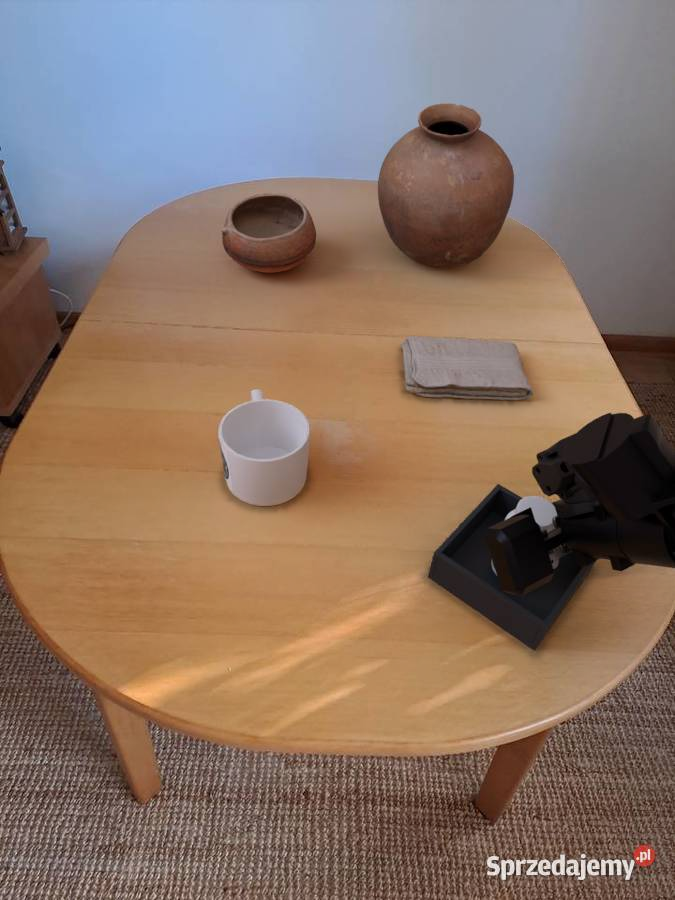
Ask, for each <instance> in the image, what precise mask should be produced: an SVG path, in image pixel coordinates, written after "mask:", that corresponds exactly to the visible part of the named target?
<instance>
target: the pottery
mask: <svg viewBox="0 0 675 900" xmlns="http://www.w3.org/2000/svg"><path fill="white" fill-rule="evenodd" d="M417 122H418V125H419V126H416V127H414V128H413V129H410V130H409V131H408V132H407V133H405V134H404V135H403V136H401V138H399V139H398V140H396V142H395V143H394V144H393V145H392V147H391V148H390V149H389V150H388V152H387V153H386V156H385V157H384V159H383V161H382V164H381V167H380V170H379V173H378V179H377V198H378V207H379V209H380V210H379V211H380V214H381V217H382V220H383V221H382V222H383V224H384V227H385V229H386V231H387V234H388V236H389V238H390V240H391V241H392V243H393V244H394V245H395V246H396V247H397V248H398V250H400V252H402V253H403V254H404V255H406V256H408V257H409V258H410V259H412V260H413V261H416V262H419V263H421V264H424V265H427V266H434V267H457V266H462V265H466V264H469V263H471V262H474V261H476V260H478V259H479V258H480V257H481V256H482V255H483V254H484V253H485V252H486V251H487V250H489V248H491V246H492V245H493V244H494V242H495V241H496V240H497V237H498V236H499V234H500V233H501V230H502V228H503V226H504V225H505V224H504V223H505V221H506V218H507V217H508V213H509V210H510V208H511V204H512V200H513V196H514V187H515V185H514V184H515V174H514V173H515V172H514V167H513V165H512V162H511V159H510V158H509V157H508V154H507V153H506V152H505V151H504V149H503V148H502V147H501V146H500V145H499V143H498V142H497V141H496V140H495V139H494V138H493V137H491V136H490V135H489V134H488V133H486V132H484V130H483V131H482V130H481V129H480V128H481V126H482V118H481V115H480V113H478V112H477V110H475V109H474V108H471V107H469V106H467V105H463V104H456V103H437V104H432V105H429V106H427V107H425V108H424V109H422V110H421V111H420V112H419V114H418V117H417Z"/></svg>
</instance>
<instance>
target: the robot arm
mask: <svg viewBox="0 0 675 900" xmlns="http://www.w3.org/2000/svg"><path fill="white" fill-rule="evenodd" d="M535 457H536V460H537V463H536V464H534V465H533V466H532V468H531V474H532V476H533V477H534V479H535V481H536V483H537V485H538V486H539V488H540V490H541V493H543V494H544V496H545V495H546V496H547V497H552V496H554V495H556V496H558V498H559V499H558V500H556V501H552V502H551V503H552V504H553V505H554V506H555V509H556V513H557V516H555V517H553V518H552V522H553V525H554V527H555V528H556V529H554V530H552V531H550V532H548V533H547V530H546V529H540V526H539V525H538V523H537V522H536V521H535V518H534V515H533V512H532V509H531V507H530V508H528V509H526V510H524V511H522V512H520V513H517V514H515V515H513V516H511V517H510V518H508V519H506V520H504V521H502V522H500V523H498V524H496V525H493V526H491V527H489V528H487V531H486V534H485V536H484V537H485V540H486V543H487V546H488V549H489V552H490V555H491V558H492V561H493V564H494V567H495V570H496V573H497V577H498V580H499V583H500V586H501V589H502V590H503V591H505V592H507V593H509V594H514V595H518V596H523V595H525V594H527V593H529V592H531V591H533V590H535V589H536V588H538V587H540V586H542V585H544V584H546V583H548V582H549V581H551V579H552V577H553V575H554V573H555V572H554V569H555V568H556V567H557V566H558V563H559V558H560V557H562V556H564V555H566V554H568V553H570V552H572V551H574V555H575V558H576V561H577V564H578V565H580V566H587V565H589V564H591V563H593V562H595V561H596V562H598V561H599V560H606V561H609V562H610V566H611V569H612V571H617V572H624V571H626V570H627V569H629V568H631V567H632V566H634V565H636V564H637V565H646V566H653V567H663V568H670V569H675V449H674V447H673V446H672V445H671V443H670V442H669V441H668V440H667V438H666V437H665V435H664V433H663V431H662V429H661V427H660V425H659V423H658V422H657V421H656V419H655V418H654V417H653V416H652V415H651V414H648V413H645V414H643V415H640V416H638V417H635V418H634V416H632V414H630V413H627V412H617V413H612V412H607V413H605V414H602V415H601V416H598V417H596V418H594V419H593V420H592V421H589V422H588V423H586V424H585V425H584V426H582V427H581V428H580V429H579V430H578V431H577V432H575V433H573V434H571V435H569V436H566V437H564V438H562V439H559V440H558V441H557V442H555V443H554V444H552V445H551V446H550V447H548V448H547V449H544V450H542V451H540V452H538V453H536V456H535ZM551 550H552V552H551Z"/></svg>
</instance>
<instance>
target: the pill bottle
mask: <svg viewBox="0 0 675 900" xmlns="http://www.w3.org/2000/svg"><path fill="white" fill-rule="evenodd" d="M530 507H531V509H532V512H533V515H534V518H535V521H536V522H537V523H538V525H539V526H540V529H546V530H547V533H548V532H550V531H552V530H554V529H556V528H555V527H554V525H553V522H552V518H553V517H555V516H557V513H556V509H555V506H554V505H553V504H552V502H551V501H550V500H548V499H547V498H545V497H541V496H538V495H528V496H524V497H522V499H521V500H520V501H519V502H518V504H517V507H516V509H514V510H512V511H511V512H510V513H509V514H508V515H507V516H506V518H505V520H506V519H508V518H510V517H511V516H513V515H515V514H517V513H520V512H522V511H524V510H526V509H528V508H530ZM491 564H492V568H493V571H494V572H495V574H496V575H497V573H496V570H495V567H494V564H493V561H491Z"/></svg>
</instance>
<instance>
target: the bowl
mask: <svg viewBox="0 0 675 900" xmlns="http://www.w3.org/2000/svg"><path fill="white" fill-rule="evenodd" d="M224 221H225V222H224V225H223V227H222V228H221V239H222V241H221V243H222V246H223V249H224V251H225V253H226V254H227V255H228V256H229V258H231V259H232V260H233V262H235V263H236V264H238V265H239V266H240V267H243V268H246V269H248V270H250V271H255V272H261V273H280V272H285V271H288V270H290V269H292V268H293V269H294V268H295V267H296V266H298V265H300V264H301V263H303V262H304V261H305V260H306V258H307V257H308V255H309V254H310V253H312V251H313V250H314V248H315V246H316V245H317V244H316V243H317V229H316V225H315V223H314V219H313V217H312V215H311V213H310V211H309V209H308V208H307V206H306V205H305V204H304V203H303V202H301V200H299V199H297V198H296V197H294V196H291V195H290V194H284V193H276V192H267V193H265V192H264V193H260V194H253V195H251V196H248V197H245V198H243V199H242V200H240V201H238V202H237V203H236V204H234V205H233V206H232V207H231V208H230V209H229V211H228V213H227V215H226V218H225V220H224Z"/></svg>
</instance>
